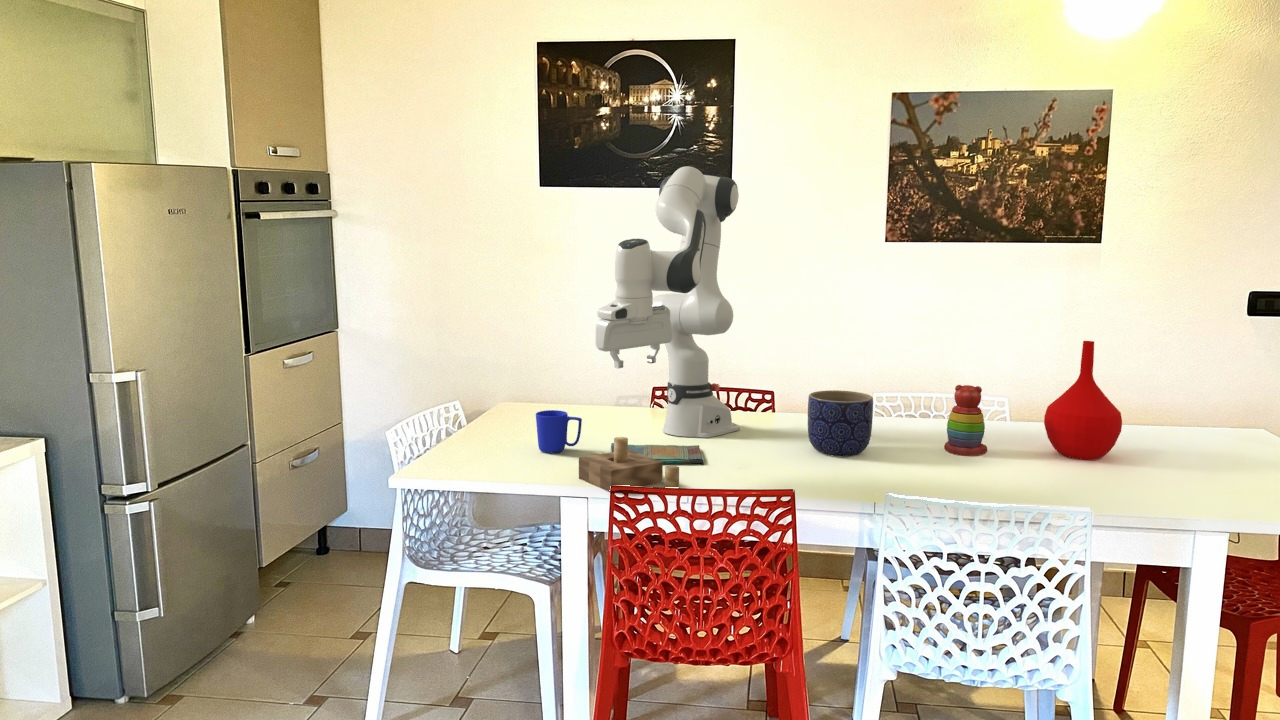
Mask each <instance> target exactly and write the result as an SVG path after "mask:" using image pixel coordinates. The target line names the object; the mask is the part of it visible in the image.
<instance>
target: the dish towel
mask: <svg viewBox="0 0 1280 720" xmlns="http://www.w3.org/2000/svg"><path fill="white" fill-rule="evenodd" d="M628 450H631V451H634V452H637V453H640V454H642V455H645V456H648V457H650V458H653V459H656V460H659V461H661V462H663V466H664V465H666V466H678V465H679V466H685V465H686V466H688V465H689V466H690V465H692V466H693V465H698V466H699V465H700V466H703V465H704V464H705V462H704V458H703V455H702V452H701V448H700V445H677V444H676V445H675V444H666V445H664V444H628ZM610 452H614V442H612V443H611V445H610Z"/></svg>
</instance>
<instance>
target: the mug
mask: <svg viewBox="0 0 1280 720" xmlns="http://www.w3.org/2000/svg"><path fill="white" fill-rule="evenodd" d="M571 420H573V421H578V428H577V435H576V439H575V441H574V442H572V443H569V442H568V427H569V426H568V425H569V421H571ZM582 420H583V419H582V417H578V416H577V417H576V416H569V415H568V412H566V411H564V410H558V409H557V410H556V409H554V410H553V409H551V410H548V409H546V410H540V411H537V412H536V413H535V423H536V433H537V434H536V435H537V447H538V450H539V451H540V452H541V453H545V454H557V453H560V452H563V451H564V450H565V448H566V446H568V447H575V446H576V445H577V444H578V443H579V441H580V437H581V432H582V422H583V421H582Z"/></svg>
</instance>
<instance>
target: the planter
mask: <svg viewBox="0 0 1280 720" xmlns="http://www.w3.org/2000/svg"><path fill="white" fill-rule="evenodd" d="M873 413H874V398H873V396H872V395H870V394H868V393H863V392H858V391H852V390H851V391H849V390H835V389H834V390H832V389H831V390H818V391H813V392H811V393H809V394H808V402H807V435H808V440H809V442H810V444H811V446H812V447H813V448H814V450H816V452H819V453H821V454H822V455H826V454H827V455H826V456H831V455H833V456H834V457H853V455H854V456H857V455H859V454H861V453H863V452H864V451H865V450H866V449H867V447H868V446H869V444H870V441H871V437H872V430H873V429H872V428H873V416H874V415H873ZM833 456H832V457H833Z"/></svg>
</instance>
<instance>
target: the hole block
mask: <svg viewBox="0 0 1280 720" xmlns="http://www.w3.org/2000/svg"><path fill="white" fill-rule="evenodd" d="M663 467H664V465H663V462H661V461H659V460H656V459H653V458H650V457H648V456H645V455H642V454H640V453H637V452H634V451H631V450H628V462H623V463H615V462H614V452H611V451H610V452H606V453H599V454H598V453H597V454H592V455H586V456H579V457H578V479H579V480H582V481H584V482H586V483H588V484H591V485H593V486H595V487H598V488H600V489H602V490H604V491H607V492H609V490H610V486H612V485H630V486H644V487H649V486H654V485H660V484H663V477H664V476H663V469H664V468H663Z"/></svg>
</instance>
